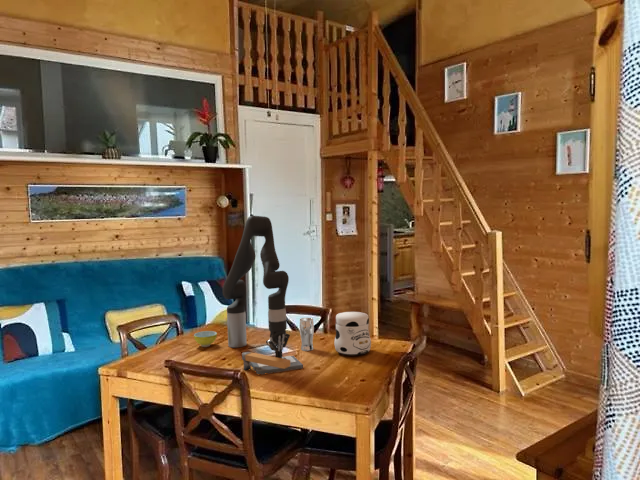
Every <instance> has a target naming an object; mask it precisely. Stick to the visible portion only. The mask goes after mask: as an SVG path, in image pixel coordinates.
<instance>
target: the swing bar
mask: <svg viewBox="0 0 640 480" xmlns="http://www.w3.org/2000/svg"><path fill="white" fill-rule="evenodd" d="M241 357H242V358H241V360H246V361H250V362H254V363H259V364H264V365H269V366H273V367H278V368H283V369H285V368H287V367H289V366H290V360H288V359H282V358H277V357H275V356H271V355H267V354H262V353H256V352H250V351H244V352H242V353H241Z"/></svg>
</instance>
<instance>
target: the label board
mask: <svg viewBox="0 0 640 480" xmlns="http://www.w3.org/2000/svg"><path fill="white" fill-rule="evenodd" d="M282 359H288V360H290V366H289V367H287V368H285V369H283V368H278V367H273V366H269V365H264V364H259V363H254V362H251V368H252V367H253V368H252V369H253V370H254V371H256V372H255V373H256V375H257V374H261V375H266V374H265V373H268V374H274V373H281V372H286V371H287V372H288V371H292V370H293V371H294V370H300V369H304V364H303V363H302V362H301V361H299V359H298V358H297V357H296V356H295V355H287V356H282ZM273 372H274V373H273Z"/></svg>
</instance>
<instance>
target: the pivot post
mask: <svg viewBox="0 0 640 480" xmlns="http://www.w3.org/2000/svg"><path fill="white" fill-rule="evenodd" d="M249 369H250V370H251V369H252V366H251V362H250V361H246V360H243V370H244V371H250V370H249Z"/></svg>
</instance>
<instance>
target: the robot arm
mask: <svg viewBox="0 0 640 480" xmlns="http://www.w3.org/2000/svg"><path fill="white" fill-rule="evenodd" d="M253 237H261V238H262V237H264V240H265V241H264V244H263V246H262V248H261V250H260V260H261V261H260V262H261V264H262V269H263V277H262V284H263V286H264V287H265V288H266V289H268V290H272V289H273V290H274V289H278V290H276V292H273V293H271V294H269V295H268V297H267V303H268V306H267V307H268V309H267V310H268V312H267V317H268V319H267V322H268V331H269V332H270V333H269V338H268V339H266V340H265V343H266V345H267V346H268V347H269V348H270V350H271V351H274V352H275V353H274V354H275V356H274V357H277V358H282V357H283V349H284V348H286V346H287V343H288V341H289V339H290V336H291V334H290V333H287V331H286V330H287V329H288V328H287V327H288V326H287V311H286V295H287V290H288V289H287V288H288V285H289V280H290V279H289V274H288V273H287V271H285V270H279V269H280V266H281V265H280V264H281V263H280V261H279V257H278V254H277V252H276V247H275V239H274V232H273V225H272V222H271V219H270V218H269V217H268V216H262V215H250V216H248V217H247V219H246V221H245V224H244V229H243V232H242V236H241V240H240V242H239V245H238V248H237V250H236V254H235V257H234V260H233V262H232V265H231V268H230V270H229V273H228V275H227V276H226V279H225V281H224V283H223V285H222V296H223V298H224V299H225V300H235V301H233V302H232V303H231V304H230V305H227V307H226V319H227V324H226V325H227V343H228V344H227V345H228V346H227V347H229V348H242V347H245V346H247V345H248V344H247V318H246V316H247V315H246V307H247V286H246V283H245V281H244V280H243V279H242V278H243V277H245V275H246V274H247V273H248V272H250V270H252V268H253V266H254V262H255V260H256V251H255V249H254V247H253V245H252V242H251V241H252V238H253Z"/></svg>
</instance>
